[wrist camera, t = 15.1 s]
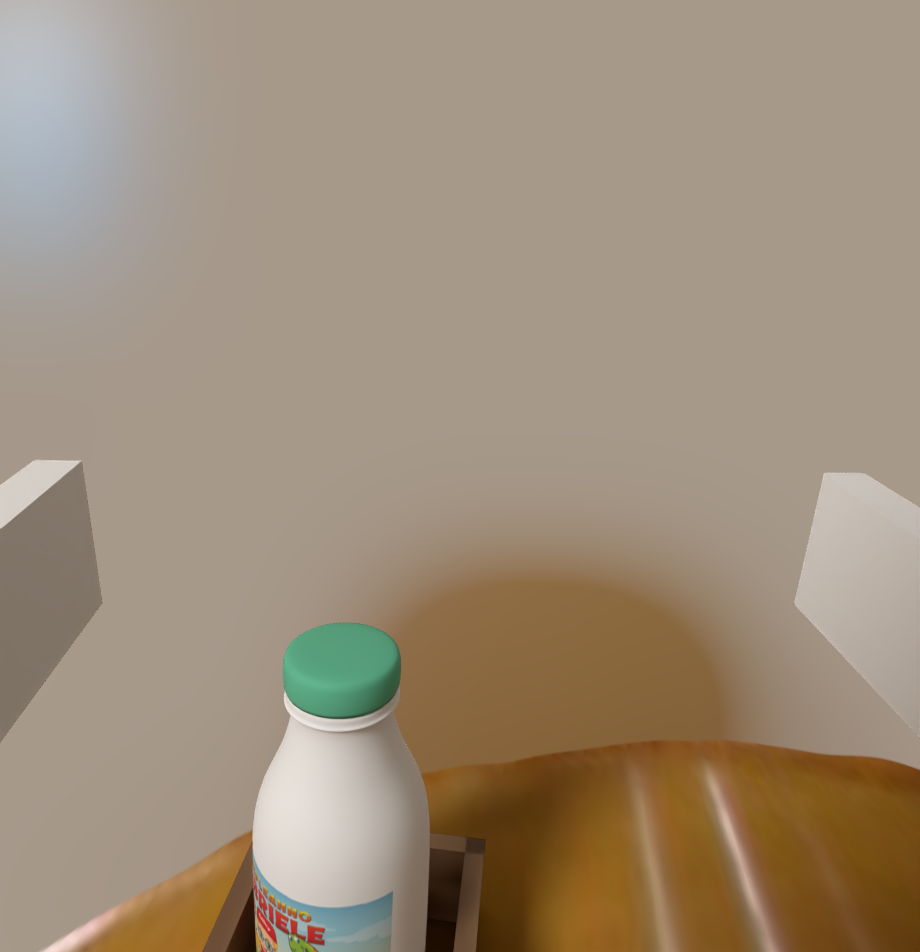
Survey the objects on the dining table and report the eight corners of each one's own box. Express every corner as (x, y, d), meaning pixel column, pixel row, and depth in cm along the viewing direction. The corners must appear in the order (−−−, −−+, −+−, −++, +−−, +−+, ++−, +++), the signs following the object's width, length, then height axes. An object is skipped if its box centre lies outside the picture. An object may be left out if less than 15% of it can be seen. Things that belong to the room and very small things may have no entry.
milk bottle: (337, 904, 41) (336, 582, 34) (452, 985, 37) (478, 640, 31) (225, 1020, 35) (196, 658, 28) (349, 1131, 31) (351, 743, 24)
